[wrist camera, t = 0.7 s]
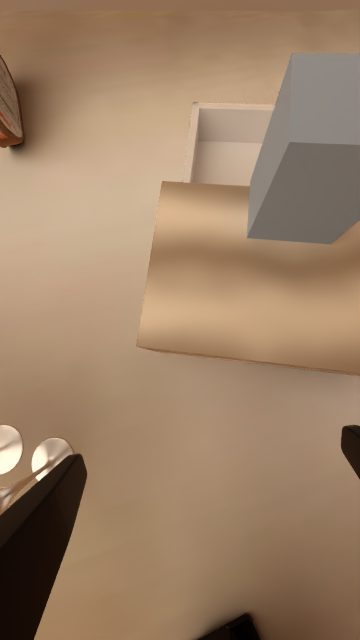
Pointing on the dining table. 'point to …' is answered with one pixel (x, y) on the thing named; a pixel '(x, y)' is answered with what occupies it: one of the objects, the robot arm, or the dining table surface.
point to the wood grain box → (247, 287)
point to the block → (310, 154)
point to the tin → (9, 110)
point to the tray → (225, 142)
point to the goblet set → (6, 450)
